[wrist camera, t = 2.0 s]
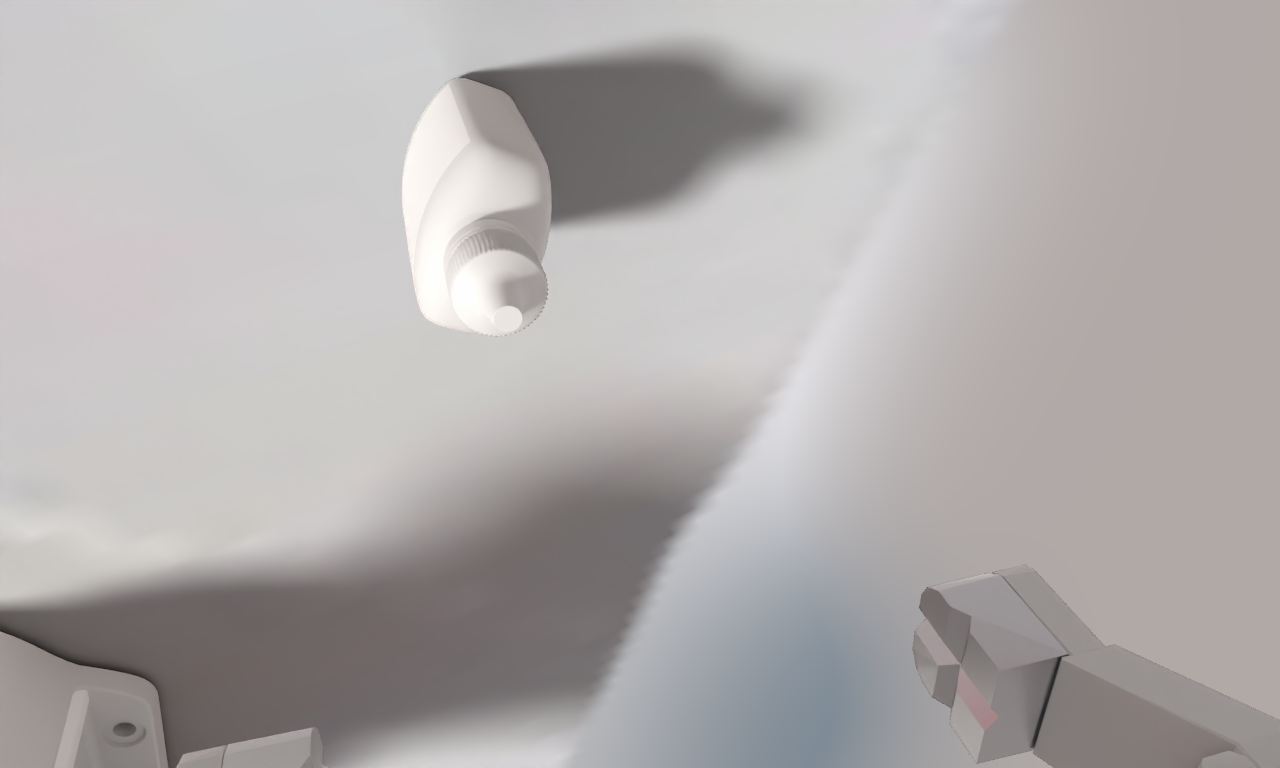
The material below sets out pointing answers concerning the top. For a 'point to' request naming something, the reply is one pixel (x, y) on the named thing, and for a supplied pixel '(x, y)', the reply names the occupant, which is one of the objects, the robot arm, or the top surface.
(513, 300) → the white squeeze bottle
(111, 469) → the top surface
